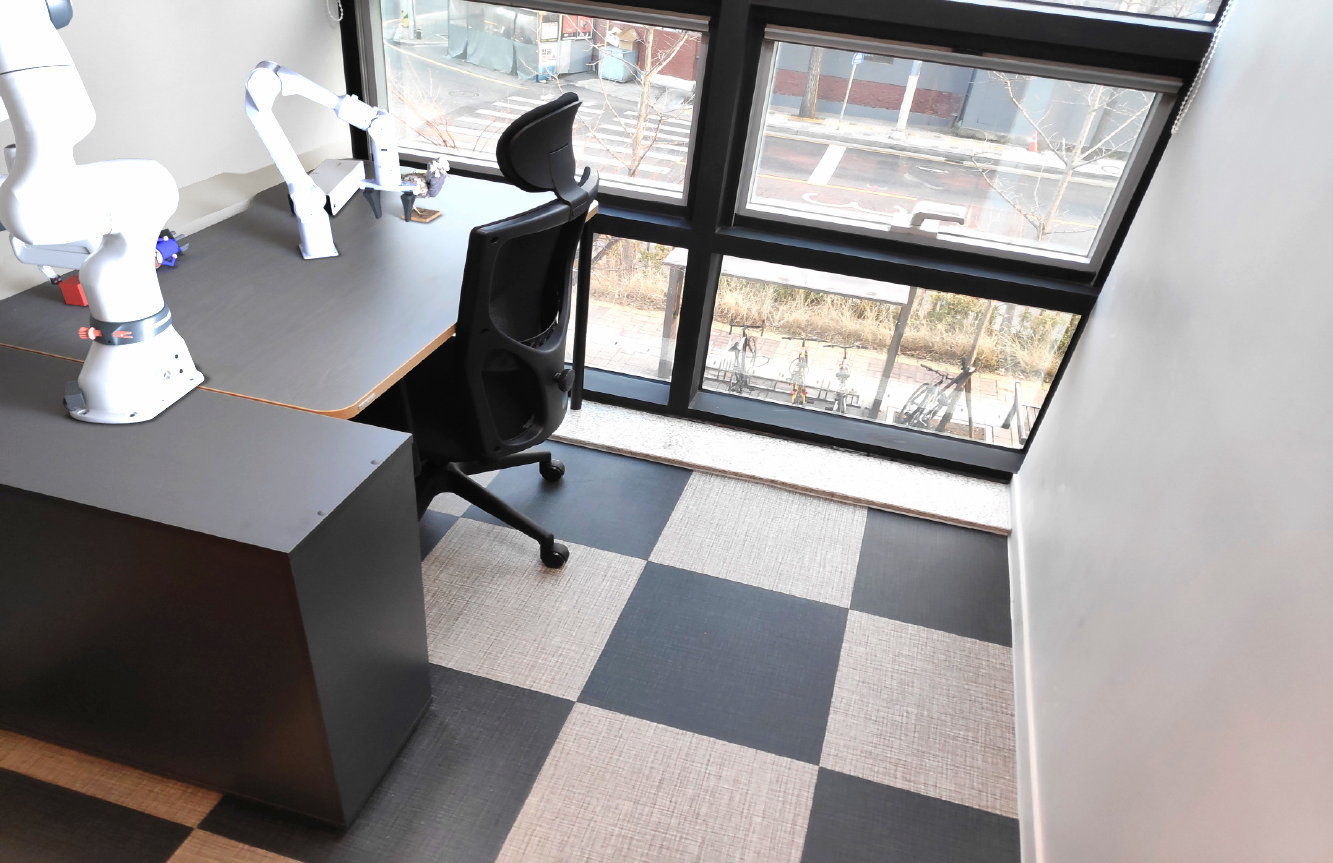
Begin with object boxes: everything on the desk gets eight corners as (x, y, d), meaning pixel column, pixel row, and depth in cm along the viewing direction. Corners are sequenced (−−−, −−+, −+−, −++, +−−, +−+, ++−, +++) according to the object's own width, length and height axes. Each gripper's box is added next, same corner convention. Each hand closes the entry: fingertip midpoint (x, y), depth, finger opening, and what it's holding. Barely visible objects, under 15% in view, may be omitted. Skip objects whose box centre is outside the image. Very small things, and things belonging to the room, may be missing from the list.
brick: (99, 297, 178) (92, 276, 175) (85, 306, 174) (77, 285, 171) (81, 295, 178) (74, 274, 175) (66, 304, 174) (58, 283, 171)
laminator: (328, 178, 253) (325, 158, 250) (369, 180, 254) (366, 160, 251) (291, 215, 225) (287, 193, 222) (337, 217, 226) (333, 195, 222)
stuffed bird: (455, 224, 227) (450, 161, 218) (382, 221, 226) (373, 157, 216) (461, 212, 235) (456, 151, 226) (390, 209, 234) (382, 147, 225)
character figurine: (198, 256, 199) (155, 280, 187) (170, 250, 200) (126, 274, 187) (191, 225, 195) (148, 248, 182) (163, 220, 195) (117, 242, 183)
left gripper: (113, 223, 168) (133, 285, 176) (19, 212, 170) (43, 275, 177) (91, 233, 163) (113, 297, 171) (-5, 223, 164) (21, 286, 172)
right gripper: (421, 162, 201) (427, 216, 208) (364, 157, 202) (372, 211, 209) (410, 170, 195) (417, 226, 202) (352, 165, 196) (360, 220, 203)
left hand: (77, 286), depth 174 cm, fingers open, 8 cm apart
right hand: (393, 219), depth 205 cm, fingers open, 7 cm apart
